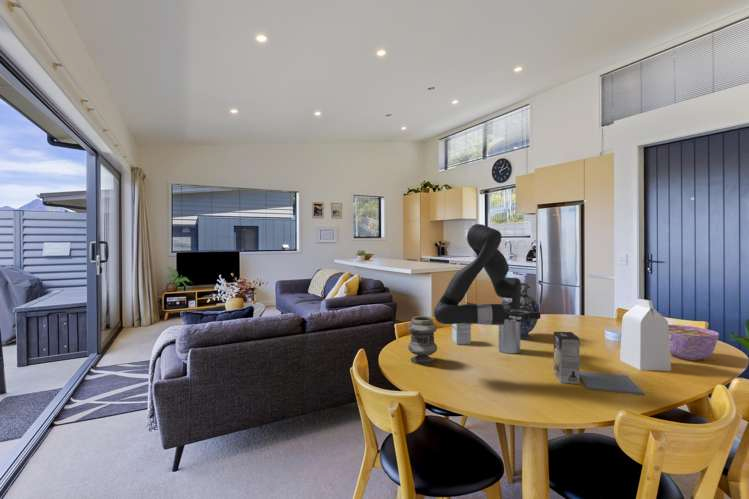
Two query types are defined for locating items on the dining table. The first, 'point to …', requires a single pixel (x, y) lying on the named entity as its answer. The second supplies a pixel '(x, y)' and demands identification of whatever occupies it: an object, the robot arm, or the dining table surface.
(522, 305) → the decorative vase
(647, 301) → the milk
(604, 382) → the grey mat
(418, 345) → the apothecary jar
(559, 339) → the coffee box
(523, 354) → the dining table surface
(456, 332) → the supplement box
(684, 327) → the bowl of food
